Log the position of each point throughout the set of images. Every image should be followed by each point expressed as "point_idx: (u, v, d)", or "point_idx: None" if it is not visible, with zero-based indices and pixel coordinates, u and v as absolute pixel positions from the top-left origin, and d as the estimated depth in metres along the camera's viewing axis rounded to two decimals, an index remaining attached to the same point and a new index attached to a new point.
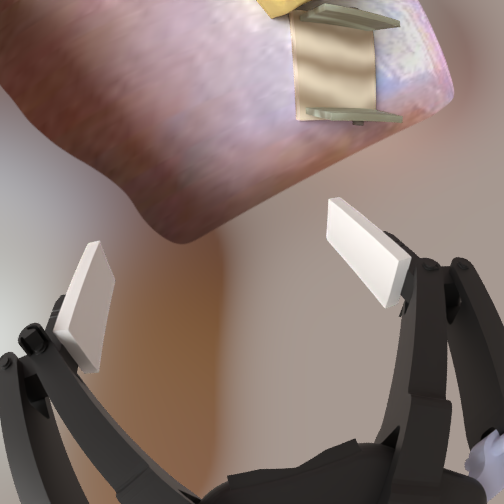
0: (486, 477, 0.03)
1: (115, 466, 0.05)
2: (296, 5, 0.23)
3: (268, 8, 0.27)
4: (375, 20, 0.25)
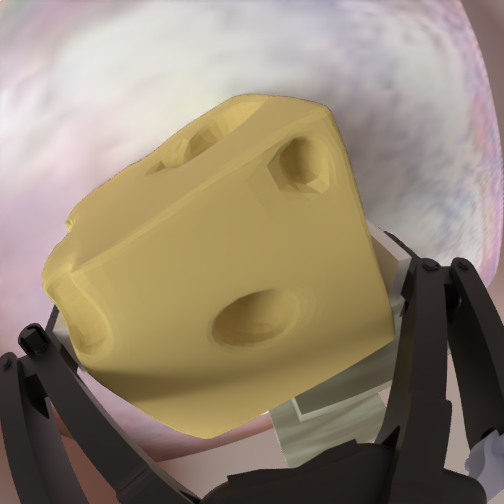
0: (486, 477, 0.03)
1: (115, 466, 0.05)
2: None
3: None
4: None
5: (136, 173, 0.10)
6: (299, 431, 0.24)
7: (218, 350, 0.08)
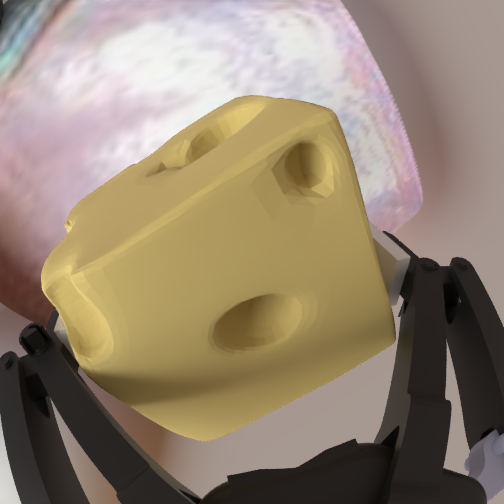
0: (486, 477, 0.03)
1: (116, 466, 0.05)
2: None
3: None
4: None
5: (137, 174, 0.10)
6: None
7: (219, 353, 0.08)
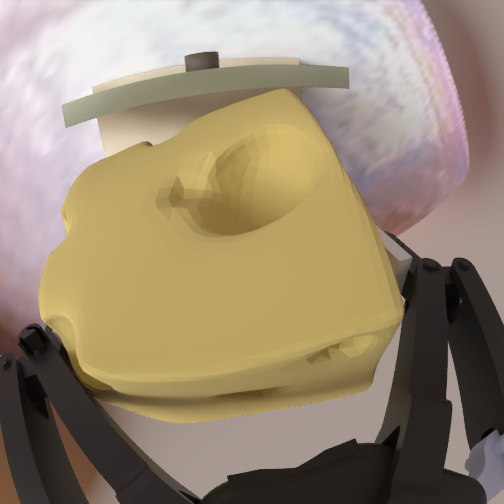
0: (486, 477, 0.03)
1: (115, 466, 0.05)
2: None
3: None
4: None
5: (146, 183, 0.09)
6: None
7: (211, 402, 0.08)
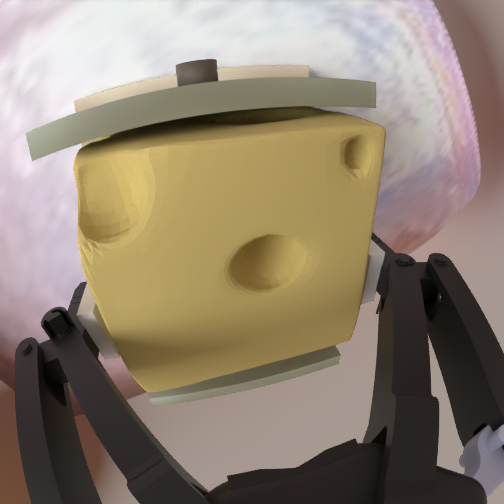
0: (483, 473, 0.04)
1: (129, 455, 0.05)
2: None
3: None
4: None
5: (189, 119, 0.11)
6: None
7: (225, 280, 0.09)
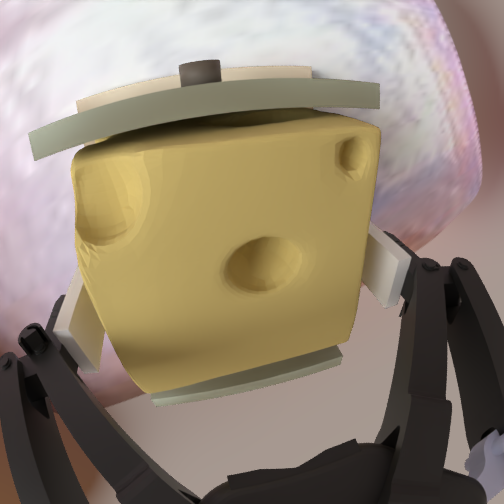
0: (486, 477, 0.03)
1: (115, 466, 0.05)
2: None
3: None
4: None
5: (185, 121, 0.11)
6: None
7: (221, 282, 0.09)
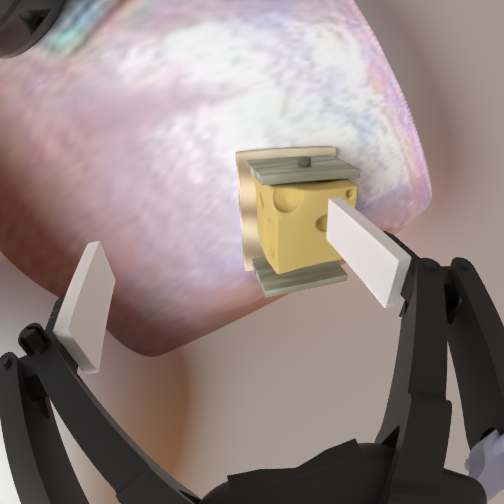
0: (486, 477, 0.03)
1: (115, 466, 0.05)
2: (276, 272, 0.34)
3: (259, 231, 0.38)
4: None
5: None
6: (273, 271, 0.40)
7: (314, 226, 0.31)
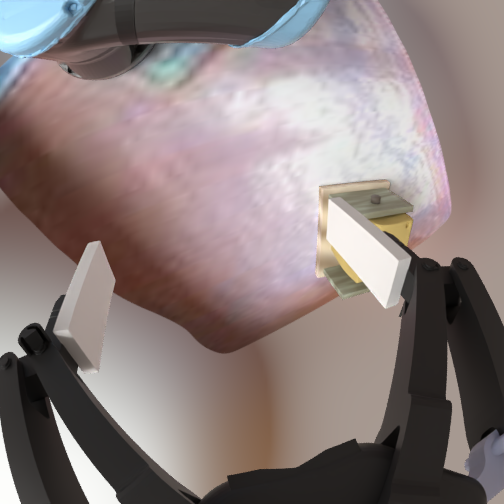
0: (486, 477, 0.03)
1: (115, 466, 0.05)
2: (355, 281, 0.43)
3: None
4: None
5: None
6: (343, 278, 0.50)
7: None
